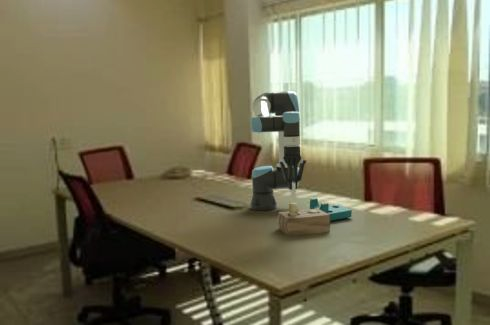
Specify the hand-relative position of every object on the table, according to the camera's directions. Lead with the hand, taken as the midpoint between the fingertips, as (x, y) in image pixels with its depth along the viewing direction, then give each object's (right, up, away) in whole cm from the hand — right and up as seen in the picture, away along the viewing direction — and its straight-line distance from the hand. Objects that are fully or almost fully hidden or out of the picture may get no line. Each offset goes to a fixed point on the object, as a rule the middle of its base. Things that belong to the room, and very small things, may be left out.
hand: (293, 196), depth 245 cm
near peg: (0, -12, +2) cm, 12 cm away
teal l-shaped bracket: (+21, -13, +23) cm, 34 cm away
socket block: (+5, -16, +4) cm, 17 cm away
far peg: (+10, -15, +5) cm, 19 cm away
